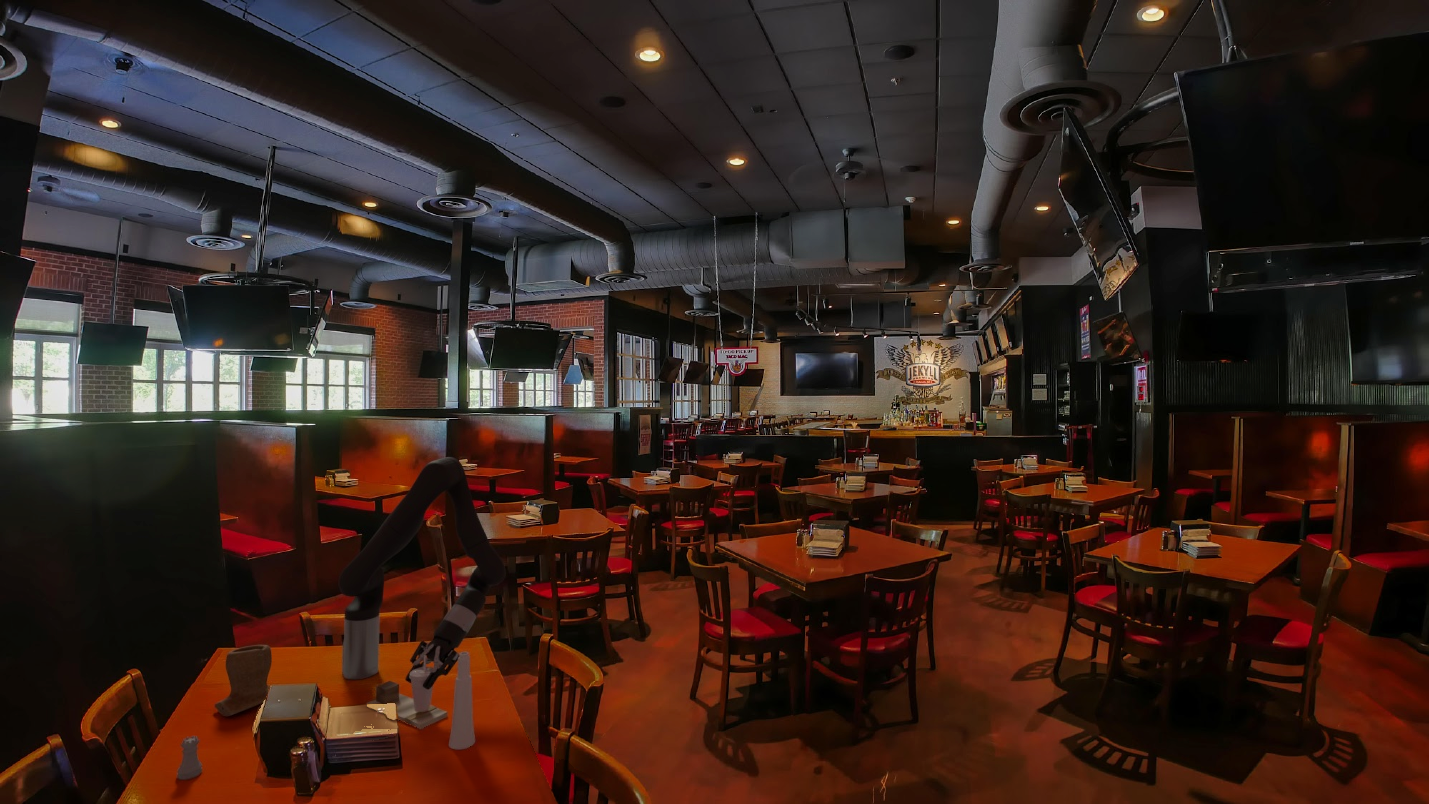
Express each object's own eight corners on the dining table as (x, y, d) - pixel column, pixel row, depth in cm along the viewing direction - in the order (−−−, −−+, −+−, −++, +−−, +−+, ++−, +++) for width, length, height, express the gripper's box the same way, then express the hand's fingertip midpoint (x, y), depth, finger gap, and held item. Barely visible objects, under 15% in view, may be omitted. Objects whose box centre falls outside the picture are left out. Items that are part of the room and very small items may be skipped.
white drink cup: (425, 715, 170) (426, 661, 170) (403, 712, 171) (404, 658, 171) (440, 704, 176) (441, 651, 176) (419, 701, 177) (419, 649, 177)
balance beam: (363, 708, 178) (364, 689, 178) (396, 694, 186) (396, 676, 186) (417, 730, 167) (418, 710, 167) (449, 715, 175) (450, 695, 175)
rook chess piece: (186, 769, 148) (186, 733, 148) (207, 769, 148) (207, 733, 148) (171, 781, 143) (171, 744, 143) (193, 780, 144) (194, 743, 144)
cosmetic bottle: (445, 741, 162) (447, 651, 162) (470, 734, 166) (472, 646, 166) (452, 752, 157) (454, 660, 157) (478, 745, 161) (480, 654, 161)
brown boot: (257, 689, 187) (258, 636, 187) (288, 697, 183) (289, 642, 183) (199, 713, 173) (200, 655, 173) (231, 722, 169) (232, 663, 169)
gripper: (429, 614, 183) (389, 672, 173) (465, 624, 176) (426, 685, 166) (445, 627, 188) (407, 684, 178) (481, 637, 181) (444, 698, 171)
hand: (416, 684), depth 172 cm, fingers closed on white drink cup, 6 cm apart
